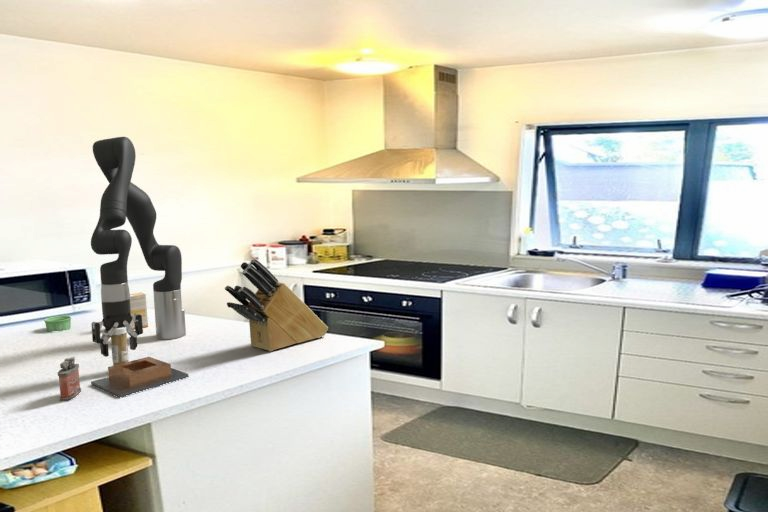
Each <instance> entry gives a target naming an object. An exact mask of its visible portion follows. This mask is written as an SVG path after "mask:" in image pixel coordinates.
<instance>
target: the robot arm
mask: <svg viewBox="0 0 768 512" xmlns="http://www.w3.org/2000/svg"><path fill="white" fill-rule="evenodd" d="M92 153H93V156H94V159H95V162H96V164H97V165H98V167H99V169H100V171H101V172H102V174H103V175H104V177H105V178H106V180H107V182H108V183H109V184H108V185H107V186H106V188H105V189H104V192H103V193H102V195H101V198H100V207H99V208H100V209H99V218H98V221H97V224H96V226H95V228H94V230H93V232H92V236H91V237H90V247H91V250H92V251H93V252H94V253H95V254H97V255H101V256H102V255H103V256H105V255H118V257H117V259H115V260H113V261H109V262H105V263H102V264H101V265H100V268H99V272H100V287H101V288H100V298H101V299H100V300H101V310H102V311H101V312H102V321H98V322H96V321H92V322H91V338H92V343H95V344H99V347H100V355H102V356H103V357H105V358H106V357H109V356H110V355H109V354H110V353H109V344H108V341H109V340H110V339H111V336H112V335H113V333H114V331H115V329H116V328H120V327H126V328H127V335H129V338H128V339H129V349H130V350H131V351H135V350H136V349H137V348H138V336H139V335H142V334H144V327H143V326H142V316H141V315H139V314H134V315H133V316H131V314H130V312H131V308H130V294H131V293H130V287H129V282H128V281H129V280H128V259H129V256H130V251H131V247H132V244H133V243H132V241H133V238H132V235H131V233H130V232H129V231H128V230H126V229H116V228H120V227H122V226H124V225H125V223H126V220H128V223H129V224H130V226H131V228H132V230H133V233H134V234H135V237H136V239H137V241H138V244H139V246H140V249H141V253H142V256H143V257H144V260H145V263H146V264H147V266H148V268H149V269H150V270H152V271H156V272H164V277H162V279H160V280H156V281H154V282H153V284H152V290H153V303H154V305H153V306H154V321H155V333H156V336H155V337H156V339H158V340H173V339H178V338H182V337H183V336H186V335H187V331H186V330H187V329H186V316H185V315H186V312H185V309H184V308H183V304H182V303H183V301H182V288H181V287H182V280H183V274H182V273H183V272H182V268H183V267H182V266H183V265H182V264H183V262H182V261H183V260H182V259H183V258H182V252H181V249H180V248H179V247H178V246H177V245H172V244H159V243H158V242H157V239H156V238H155V235H154V230H155V225H156V222H157V211H156V208H155V206H154V204H153V202H152V199H151V197H150V196H149V194H147V192H145V191H144V190H143V189H142V188H140V187H139V186H137V185H136V184H135V183H133V182H132V177H133V174H134V173H133V172H134V169H135V164H136V148H135V146H134V143H133V142H132V141H131V139H130V138H129V137H127V136H117V137H112V138H105V139H100V140H99V139H98V140H96V141H95V142H94V143H92ZM132 320H133V322H134V324H135V329H133V328H132V327H131V326H130V323H131V321H132ZM102 327H104V329H103V331H102V333H101V329H102Z"/></svg>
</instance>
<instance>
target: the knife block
mask: <svg viewBox="0 0 768 512" xmlns="http://www.w3.org/2000/svg"><path fill="white" fill-rule="evenodd" d="M240 268H241V269H242V273H241V274H242V275H243V276H244V277H246V279H247V280H248V281H249V282H250V283H251V284H252V285H253V286H254V287H255V288H256V289H257V290H256V292H253V291H252V290H251V289H250V288H248V287H246V286H243V287H242V286H240V285H235V286H234V288H233V287H232V286H230V285H226V286H225V287H224V290H225V291H226V292H228V293H229V294H230V296H232V297H233V298H234V299H235V300H236V301H238V302H239V303H236V302H235V303H234V302H231V301H230V302H226V306H227V307H228V308H231V309H232V310H233V311H234V312H236V313H237V314H239V315H240V316H242V317H244V318H245V319H247V321H248V320H249V323H248V325H249V332H250V333H249V335H250V336H249V337H250V345H251V346H253V347H255V348H259V349H262V350H266V351H268V352H274V350H278V349H282V348H285V347H288V346H291V345H294V344H299V343H304V342H307V341H311V340H314V339H320V338H321V337H324V336H326V334H327V331H328V330H329V326H327V325H326V323H324V321H323V320H321V319H320V317H318V315H317V314H315V313H314V311H313V310H312V309H311V308H310V307H309V305H307V304H306V303H305V302H304V301H302V299H301V298H300V297H299V296H298V295H297V294H296V293H295V292H294V291H293V290H292V289H291V288H290V287H289V286H288V285H287V284H286V283H284V282H280V281H279V280H278V279H277V278H276V276H275V275H274V274H272V272H271V271H270V270H269V269H268V268H267V267H266V266H265V265H263V264H262V263H261V262H260V261H259V260H258V259H256V258H253V259H251V260H250V262H249V263H247V261H244V262H242V263H241V264H240Z"/></svg>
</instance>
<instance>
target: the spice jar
mask: <svg viewBox="0 0 768 512" xmlns="http://www.w3.org/2000/svg"><path fill="white" fill-rule="evenodd" d="M127 335H128V333H127V328H126V327H120V328H116V329H115V331H114V333H113V335H112V336H111V337H110V343H111V359H112V366H114V365H118V364H122V363H126V362H130V360H129V345H128V338H127Z"/></svg>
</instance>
